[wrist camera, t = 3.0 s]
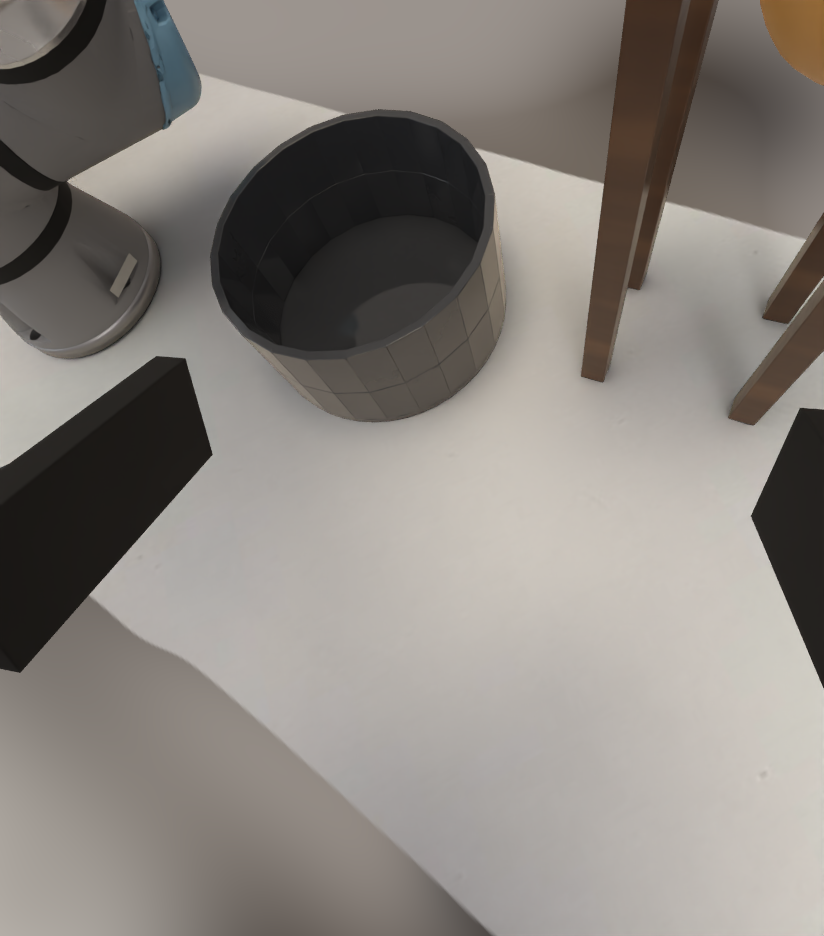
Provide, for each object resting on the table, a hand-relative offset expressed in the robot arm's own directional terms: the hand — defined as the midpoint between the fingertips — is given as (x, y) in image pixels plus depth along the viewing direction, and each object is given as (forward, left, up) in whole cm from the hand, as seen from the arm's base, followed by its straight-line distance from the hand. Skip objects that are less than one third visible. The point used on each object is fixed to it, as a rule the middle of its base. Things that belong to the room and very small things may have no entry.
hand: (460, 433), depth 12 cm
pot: (-23, +1, -26) cm, 35 cm away
